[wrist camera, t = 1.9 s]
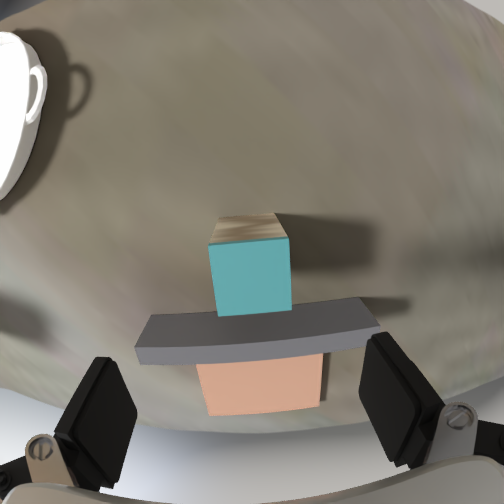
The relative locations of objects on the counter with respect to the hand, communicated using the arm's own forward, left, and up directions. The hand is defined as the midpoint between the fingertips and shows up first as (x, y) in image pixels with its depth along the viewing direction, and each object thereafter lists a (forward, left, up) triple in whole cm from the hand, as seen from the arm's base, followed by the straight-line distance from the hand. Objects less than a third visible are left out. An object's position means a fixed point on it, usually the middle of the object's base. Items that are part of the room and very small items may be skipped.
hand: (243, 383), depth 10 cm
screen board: (-1, +8, -19) cm, 20 cm away
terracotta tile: (-1, +17, -19) cm, 25 cm away
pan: (+30, -19, -19) cm, 41 cm away
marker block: (-1, 0, -19) cm, 19 cm away
